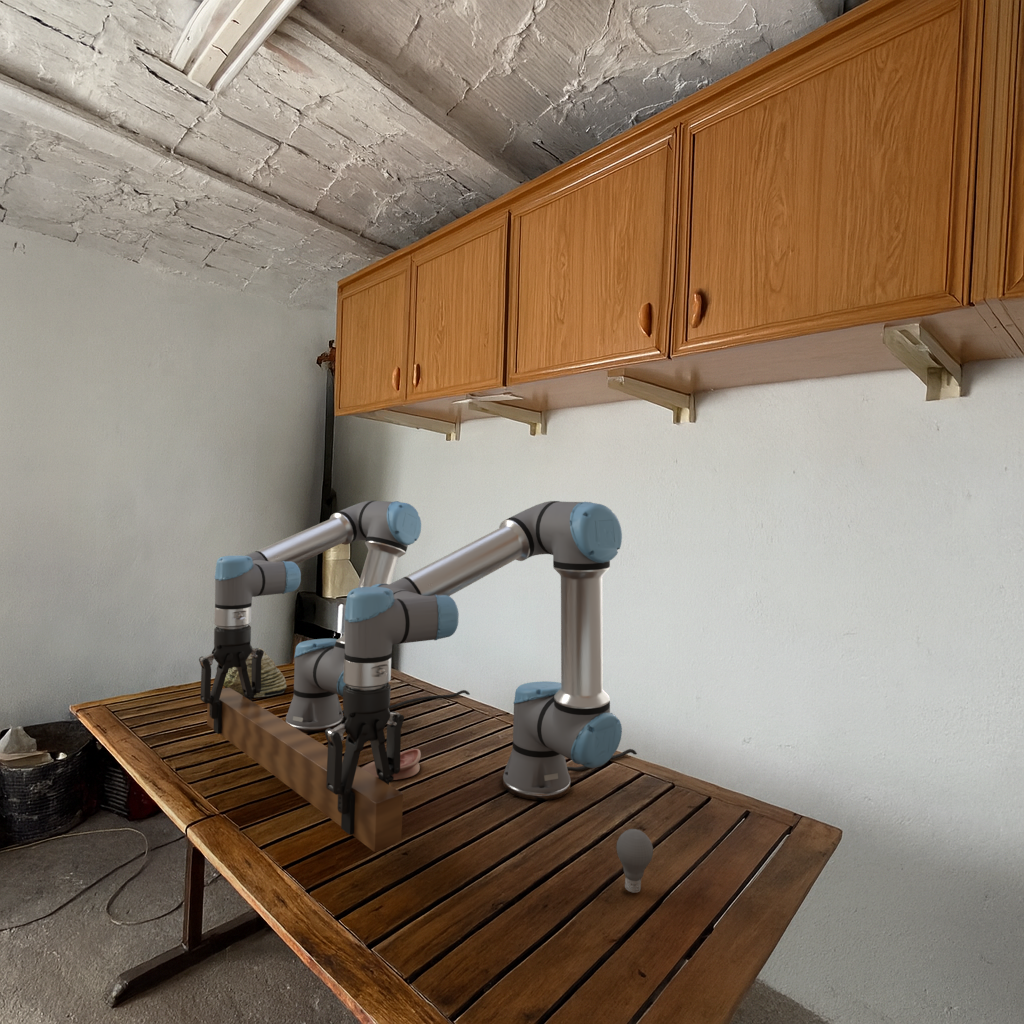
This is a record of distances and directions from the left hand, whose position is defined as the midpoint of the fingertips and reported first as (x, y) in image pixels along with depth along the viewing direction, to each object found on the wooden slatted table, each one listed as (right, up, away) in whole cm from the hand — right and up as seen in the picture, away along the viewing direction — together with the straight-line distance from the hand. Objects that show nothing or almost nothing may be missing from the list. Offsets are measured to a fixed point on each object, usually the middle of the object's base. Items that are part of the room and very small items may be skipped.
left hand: (230, 728), depth 142 cm
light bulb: (+83, -15, -36) cm, 92 cm away
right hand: (+39, -3, -38) cm, 55 cm away
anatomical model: (+35, -12, +6) cm, 37 cm away
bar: (+19, -2, -19) cm, 27 cm away
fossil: (-18, -9, +56) cm, 60 cm away
